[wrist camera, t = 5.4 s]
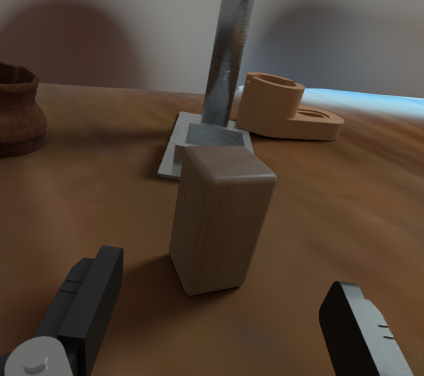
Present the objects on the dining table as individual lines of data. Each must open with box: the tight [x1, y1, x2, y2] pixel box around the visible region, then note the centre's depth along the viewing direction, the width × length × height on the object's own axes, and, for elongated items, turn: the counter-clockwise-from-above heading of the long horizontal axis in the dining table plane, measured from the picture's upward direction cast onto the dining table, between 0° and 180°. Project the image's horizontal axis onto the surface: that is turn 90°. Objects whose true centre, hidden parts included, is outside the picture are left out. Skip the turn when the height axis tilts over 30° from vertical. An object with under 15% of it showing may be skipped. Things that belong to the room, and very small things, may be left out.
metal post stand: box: [157, 0, 254, 181], centre depth 32 cm, size 10×20×28 cm, turn 179°
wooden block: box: [169, 146, 277, 296], centre depth 18 cm, size 4×4×8 cm
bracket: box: [236, 72, 344, 141], centre depth 48 cm, size 18×8×7 cm, turn 111°
